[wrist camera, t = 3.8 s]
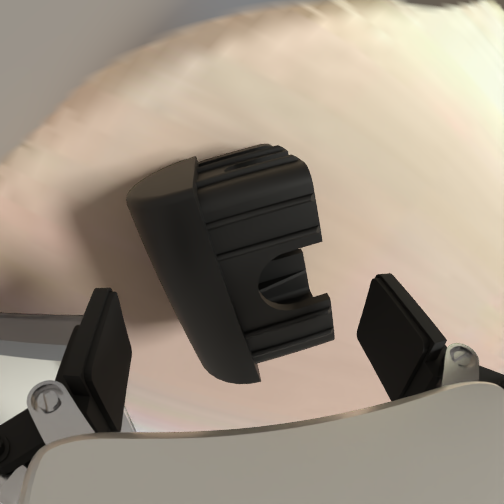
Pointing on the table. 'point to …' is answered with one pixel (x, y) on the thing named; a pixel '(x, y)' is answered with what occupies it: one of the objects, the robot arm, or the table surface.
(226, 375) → the end cap
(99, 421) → the robot arm
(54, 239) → the table surface
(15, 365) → the tray
